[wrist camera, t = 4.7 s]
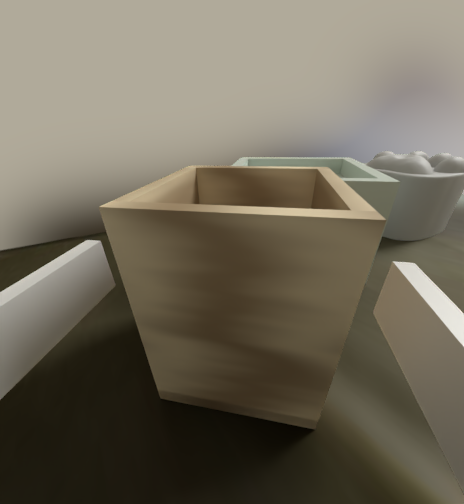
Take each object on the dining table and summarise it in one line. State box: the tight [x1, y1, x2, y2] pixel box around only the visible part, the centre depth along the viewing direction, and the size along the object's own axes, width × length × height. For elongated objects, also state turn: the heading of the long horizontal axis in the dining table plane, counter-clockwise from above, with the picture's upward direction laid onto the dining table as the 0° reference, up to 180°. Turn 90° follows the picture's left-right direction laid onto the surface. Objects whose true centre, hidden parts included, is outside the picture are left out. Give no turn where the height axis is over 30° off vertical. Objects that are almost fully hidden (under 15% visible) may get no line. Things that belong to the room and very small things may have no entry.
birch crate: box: [99, 166, 387, 429], centre depth 12 cm, size 8×8×10 cm
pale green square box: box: [232, 157, 401, 285], centre depth 23 cm, size 13×13×8 cm
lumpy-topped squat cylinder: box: [363, 151, 464, 241], centre depth 29 cm, size 10×13×9 cm
